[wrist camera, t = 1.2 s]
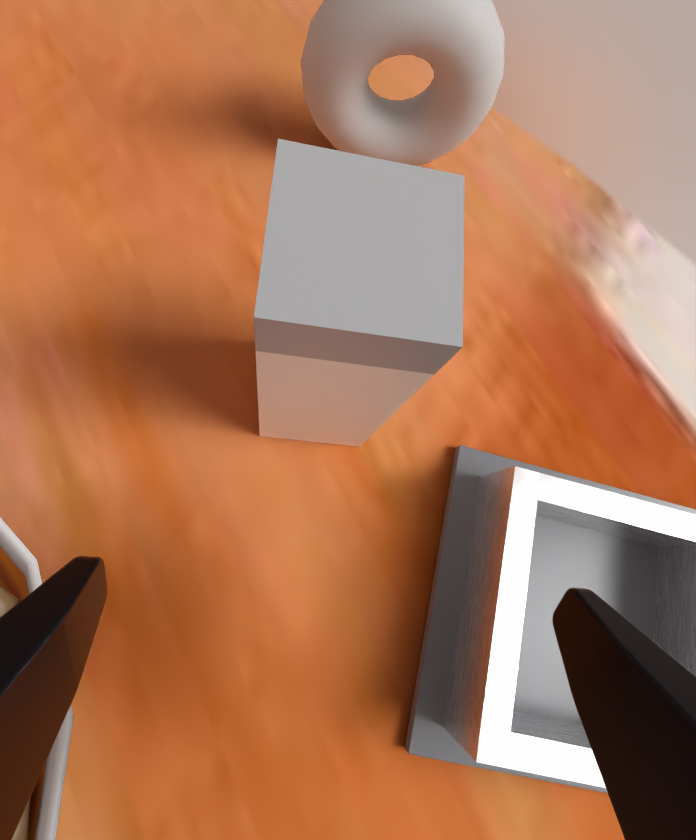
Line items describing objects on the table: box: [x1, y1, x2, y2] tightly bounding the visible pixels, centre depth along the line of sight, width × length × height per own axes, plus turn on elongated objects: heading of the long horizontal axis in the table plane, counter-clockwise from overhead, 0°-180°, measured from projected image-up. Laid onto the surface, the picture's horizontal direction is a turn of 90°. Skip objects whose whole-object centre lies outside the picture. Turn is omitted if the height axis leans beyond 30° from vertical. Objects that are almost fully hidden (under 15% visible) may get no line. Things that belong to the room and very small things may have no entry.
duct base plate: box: [405, 445, 696, 793], centre depth 23 cm, size 14×14×1 cm
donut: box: [301, 0, 504, 166], centre depth 24 cm, size 10×4×10 cm, turn 89°
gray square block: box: [254, 139, 464, 447], centre depth 18 cm, size 5×5×13 cm
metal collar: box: [442, 466, 696, 788], centre depth 21 cm, size 11×11×4 cm
